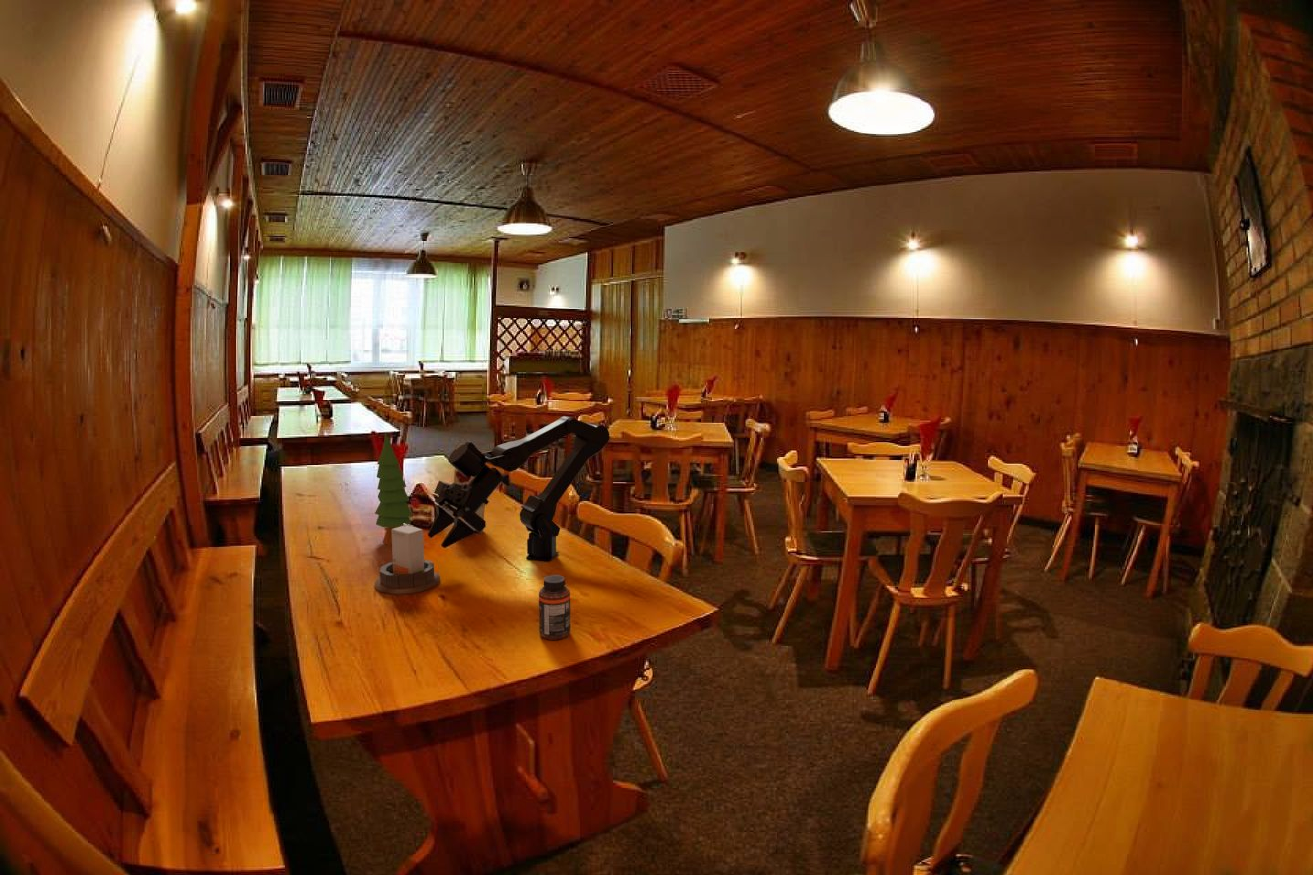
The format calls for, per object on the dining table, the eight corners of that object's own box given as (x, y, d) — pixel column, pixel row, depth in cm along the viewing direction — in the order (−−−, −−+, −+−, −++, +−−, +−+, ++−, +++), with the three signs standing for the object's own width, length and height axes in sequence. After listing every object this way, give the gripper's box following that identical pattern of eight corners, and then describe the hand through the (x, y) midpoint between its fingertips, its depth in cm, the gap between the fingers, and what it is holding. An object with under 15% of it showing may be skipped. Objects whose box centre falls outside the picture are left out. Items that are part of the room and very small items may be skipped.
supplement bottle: (540, 628, 137) (540, 572, 135) (570, 627, 137) (570, 572, 135) (537, 641, 131) (537, 583, 129) (569, 641, 131) (569, 583, 129)
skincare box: (392, 579, 158) (390, 528, 157) (407, 574, 162) (406, 524, 160) (410, 585, 155) (408, 533, 153) (425, 579, 159) (424, 528, 157)
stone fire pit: (451, 575, 164) (451, 560, 163) (418, 597, 150) (417, 580, 150) (398, 569, 167) (398, 554, 166) (361, 590, 154) (360, 574, 153)
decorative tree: (371, 540, 189) (365, 431, 184) (403, 533, 196) (399, 428, 192) (389, 548, 183) (384, 435, 178) (421, 540, 190) (417, 432, 185)
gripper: (441, 461, 169) (397, 512, 164) (471, 475, 154) (423, 531, 150) (473, 489, 175) (431, 539, 170) (504, 505, 160) (460, 560, 156)
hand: (435, 541), depth 161 cm, fingers open, 9 cm apart
